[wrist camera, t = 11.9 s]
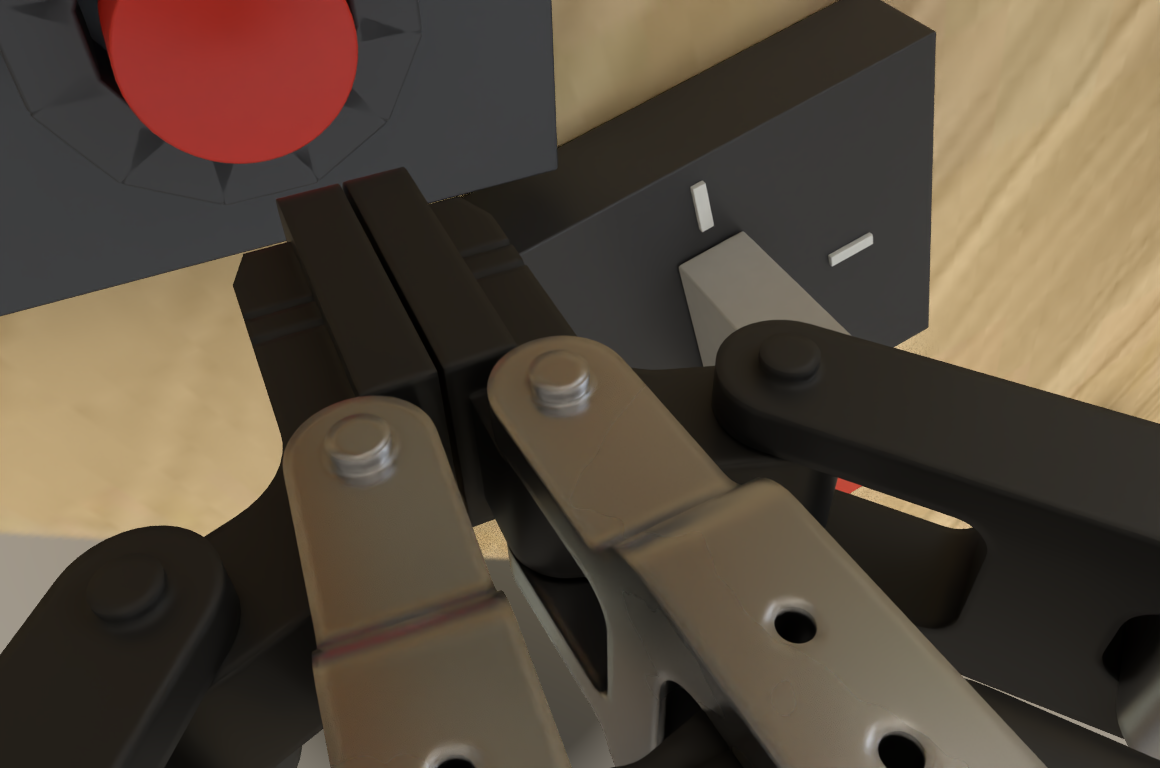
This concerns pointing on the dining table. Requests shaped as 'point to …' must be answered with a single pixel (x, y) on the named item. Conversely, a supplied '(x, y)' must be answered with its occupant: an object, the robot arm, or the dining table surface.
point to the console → (747, 187)
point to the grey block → (745, 298)
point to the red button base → (249, 191)
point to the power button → (232, 71)
